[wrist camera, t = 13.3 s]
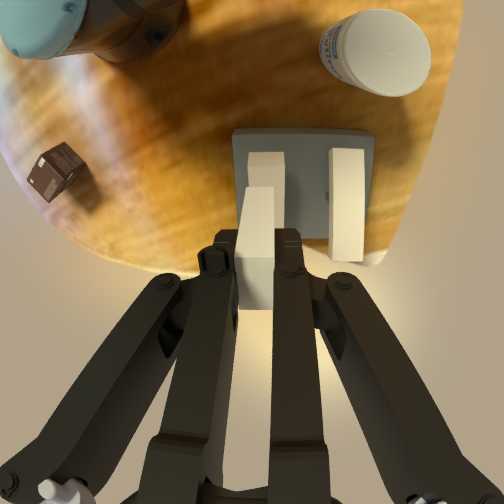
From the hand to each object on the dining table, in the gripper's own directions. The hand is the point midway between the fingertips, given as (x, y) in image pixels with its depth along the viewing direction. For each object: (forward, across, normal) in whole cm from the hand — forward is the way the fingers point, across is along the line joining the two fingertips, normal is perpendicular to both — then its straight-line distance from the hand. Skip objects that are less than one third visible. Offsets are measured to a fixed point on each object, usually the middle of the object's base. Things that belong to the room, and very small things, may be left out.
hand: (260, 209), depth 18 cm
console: (+28, +5, -10) cm, 30 cm away
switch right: (+21, +10, -10) cm, 25 cm away
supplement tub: (+29, +12, +10) cm, 33 cm away
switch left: (+21, 0, -9) cm, 23 cm away
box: (+29, -34, -4) cm, 45 cm away
